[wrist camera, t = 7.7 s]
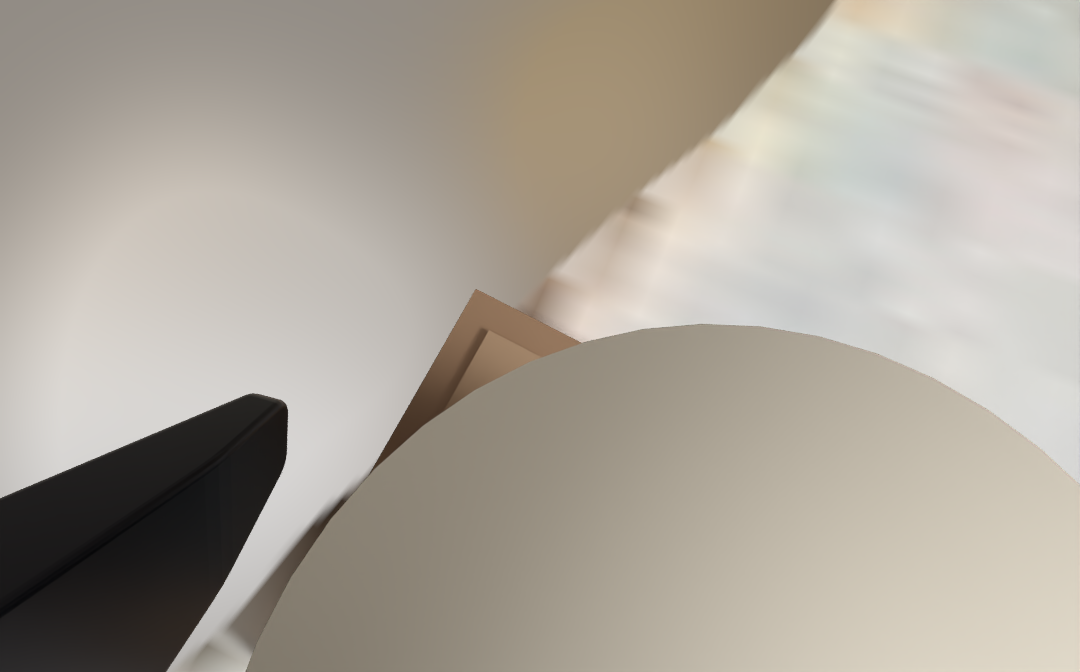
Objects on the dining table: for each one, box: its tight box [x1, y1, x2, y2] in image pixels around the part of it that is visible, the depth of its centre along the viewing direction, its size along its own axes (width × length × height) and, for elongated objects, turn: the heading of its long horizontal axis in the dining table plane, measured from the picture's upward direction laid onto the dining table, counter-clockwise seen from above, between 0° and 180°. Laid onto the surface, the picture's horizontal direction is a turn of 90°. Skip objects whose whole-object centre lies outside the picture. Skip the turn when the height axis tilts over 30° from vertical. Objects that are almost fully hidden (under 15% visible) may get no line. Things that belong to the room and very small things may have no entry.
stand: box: [369, 289, 581, 475], centre depth 16 cm, size 10×10×2 cm
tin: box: [246, 324, 1080, 672], centre depth 9 cm, size 5×5×12 cm
